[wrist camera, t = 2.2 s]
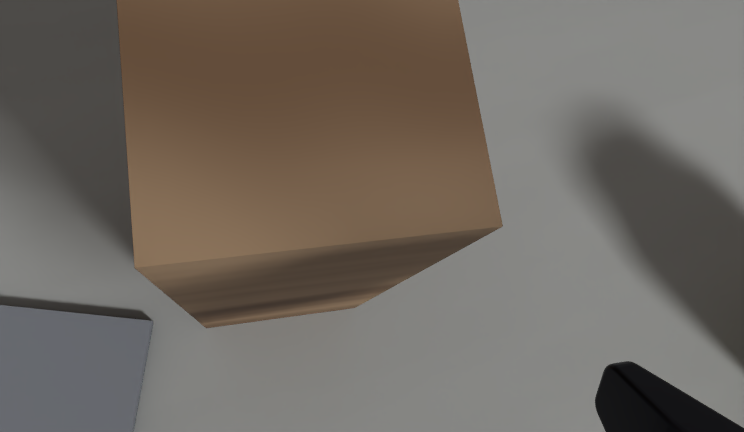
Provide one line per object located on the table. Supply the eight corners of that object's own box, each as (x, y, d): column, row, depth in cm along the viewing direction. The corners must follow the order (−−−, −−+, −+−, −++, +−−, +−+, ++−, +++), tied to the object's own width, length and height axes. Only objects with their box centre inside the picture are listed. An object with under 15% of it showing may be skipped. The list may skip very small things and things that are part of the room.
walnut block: (354, 307, 21) (502, 226, 9) (206, 328, 20) (134, 267, 8) (335, 170, 22) (442, -77, 10) (193, 182, 21) (110, -78, 9)
